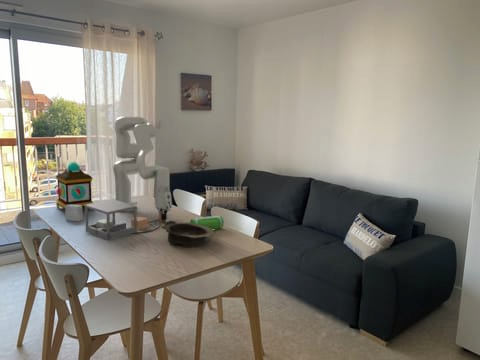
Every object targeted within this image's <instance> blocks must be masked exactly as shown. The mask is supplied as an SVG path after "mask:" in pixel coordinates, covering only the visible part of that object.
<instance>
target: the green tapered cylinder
mask: <svg viewBox="0 0 480 360" xmlns="http://www.w3.org/2000/svg"><path fill="white" fill-rule="evenodd" d="M189 223H195V224H199V225H203V226H206V227H208V228H211V229H216V230H220V229H222V228H223V227H224V218H223V217H222V216H220V215H213V216H211V215H210V216H203V217H202V216H201V217H193V218H192V219H190V221H189ZM219 228H220V229H219Z"/></svg>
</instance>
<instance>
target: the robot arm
mask: <svg viewBox="0 0 480 360" xmlns="http://www.w3.org/2000/svg"><path fill="white" fill-rule="evenodd" d="M129 131H132V132H133V136H134V140H135V142H131V135H130V133H129ZM157 131H158V130H157V128H156V126H155V125H154V124H153V123H152V122H150V121H149V120H147V118H144V117H143V116H142V117H141V116H119V117H117V118H116V119H115V122H114V132H115V155H116V157H117V158H118V159H121V160H118V161H116V162H115V163H114V164H112V165H113V166H112V170H113V175H114V187H115V188H114V189H115V191H114V192H115V193H114V194H115V199H114V200H117V201H121V202H124V203H128V204H131V205H135V206H137V205H138V201H132V182H131V180H130V178H129V176H131V175H137V174H139V176H140V177H141V179H143V180H146V181H147V180H153V179H154V180H155V195H154V206H155V209H156V210H157V211H158V213H159V212H161V211H162V221H164V220H165V221H166V220H167V217H168V215H167V214H168V212H171V208H172V207H173V205H172V204H173V202H172V193H171V190H170V168H168V167H165V166H161V165H158V164H157V165H148V166H147V163H146V155H147V154H149V153H151V152H152V151H153V150H154V145H153V142H152V139H153V138H155V137H157ZM131 211H134V209H131V210H126V211H122V212H123V213H126V212H131ZM122 212H121V213H122ZM165 221H164V222H165Z"/></svg>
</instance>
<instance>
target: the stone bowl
mask: <svg viewBox="0 0 480 360" xmlns="http://www.w3.org/2000/svg"><path fill="white" fill-rule="evenodd" d="M161 228H162V229H164V230H165V231H166V233H168V234H167V242H168V244H170V245H177V244H182V245H183V247H184V248H193V247H197V246H199V245H202V244H204V241H205V240H206V238H207V237H209V236H212V235H213V233H214V230H212V229H211V228H208V227H206V226H203V225H199V224H195V223H190V222H176V221H175V220H174V221H173V220H169V221H167V222H166V223H165V224H164V226H163V225H162V226H161Z"/></svg>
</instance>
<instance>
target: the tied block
mask: <svg viewBox="0 0 480 360" xmlns="http://www.w3.org/2000/svg"><path fill="white" fill-rule="evenodd" d="M165 221H166V220H164V221H162V211H161V212H158V218H157V219H154V220H149V221H148V218H146V217H142V216H138V217H137V231H140V229H141V230H144V229H147V228H148V224H152V223H157V222H159V223H164V222H165ZM130 222H131V225H130V226H131V227H134V217H133V218H131V221H130ZM131 227H130V228H131Z"/></svg>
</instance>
